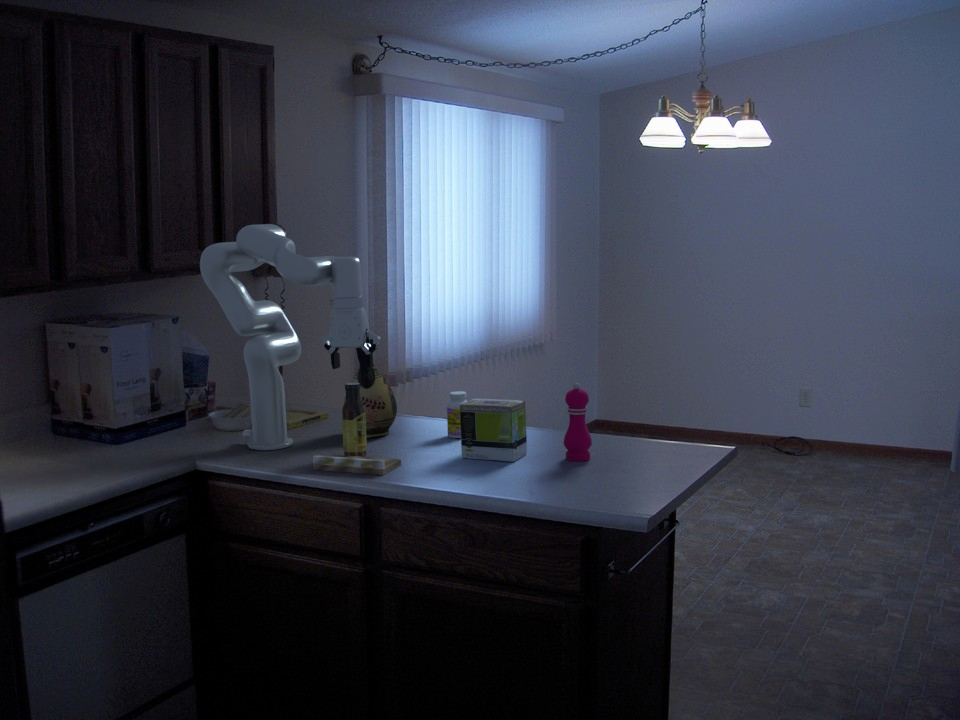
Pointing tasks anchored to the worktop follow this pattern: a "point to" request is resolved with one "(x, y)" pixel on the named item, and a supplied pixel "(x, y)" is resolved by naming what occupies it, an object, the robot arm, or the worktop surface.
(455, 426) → the supplement bottle
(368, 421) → the ceramic jug
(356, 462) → the tan white-edged panel
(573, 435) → the pepper mill
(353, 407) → the sauce bottle
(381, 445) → the worktop surface
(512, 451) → the tea box
